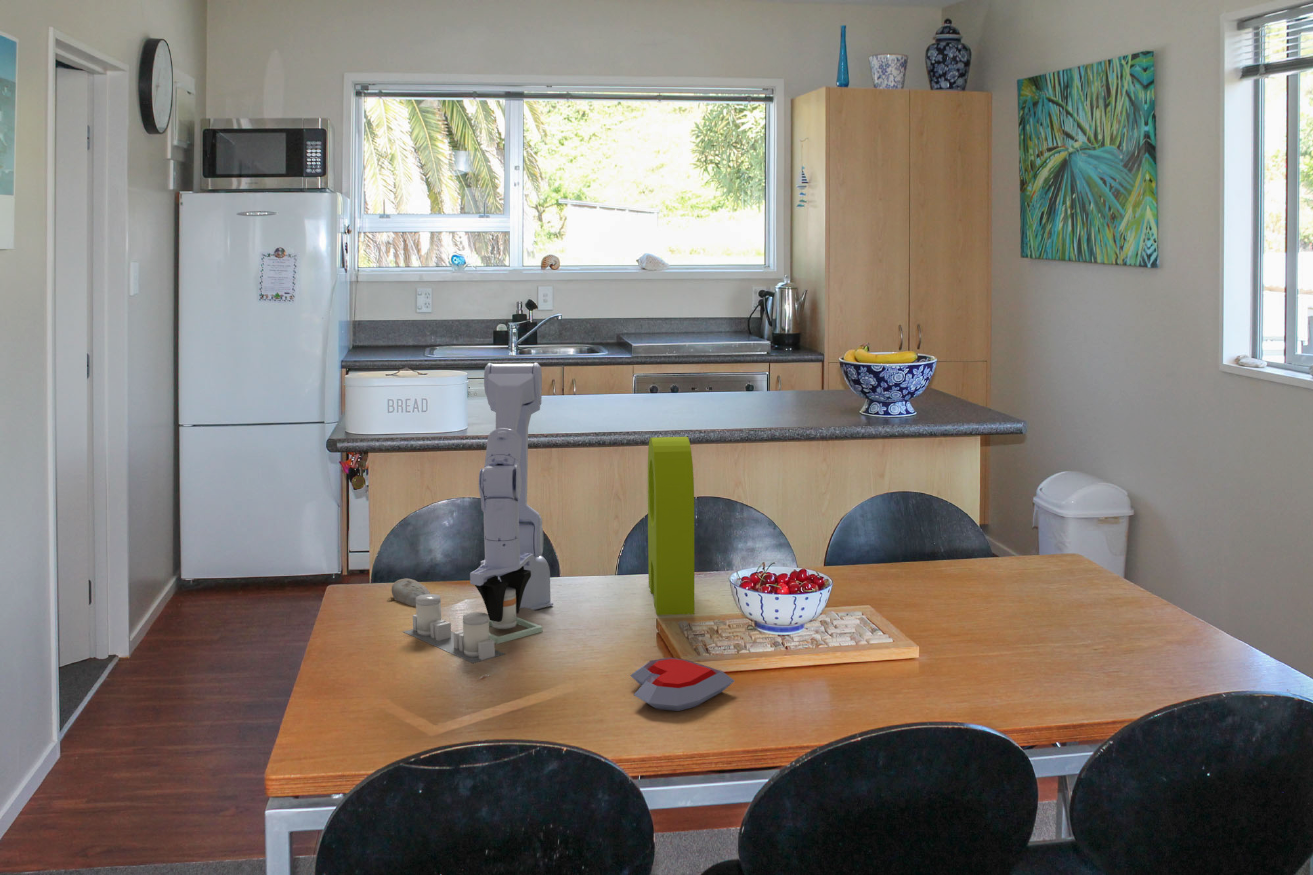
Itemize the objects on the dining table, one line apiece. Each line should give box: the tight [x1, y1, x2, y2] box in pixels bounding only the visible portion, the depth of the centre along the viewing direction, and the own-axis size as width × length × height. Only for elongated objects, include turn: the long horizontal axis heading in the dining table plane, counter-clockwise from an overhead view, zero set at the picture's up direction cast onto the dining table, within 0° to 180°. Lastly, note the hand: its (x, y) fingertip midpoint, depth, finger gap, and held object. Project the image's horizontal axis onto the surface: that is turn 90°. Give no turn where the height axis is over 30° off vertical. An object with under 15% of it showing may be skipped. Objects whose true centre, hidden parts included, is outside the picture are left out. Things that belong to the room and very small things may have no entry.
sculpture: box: [630, 656, 735, 712], centre depth 169 cm, size 17×4×15 cm
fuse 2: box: [462, 612, 490, 657], centre depth 184 cm, size 4×4×6 cm
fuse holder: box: [402, 614, 506, 664], centre depth 189 cm, size 6×21×4 cm, turn 42°
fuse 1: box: [415, 593, 442, 636], centre depth 194 cm, size 4×4×6 cm
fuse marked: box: [491, 587, 518, 630], centre depth 194 cm, size 4×4×6 cm
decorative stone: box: [391, 578, 431, 608], centre depth 215 cm, size 6×16×3 cm, turn 32°
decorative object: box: [647, 436, 696, 616], centre depth 214 cm, size 20×7×30 cm, turn 5°
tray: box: [489, 616, 543, 645], centre depth 195 cm, size 9×9×2 cm
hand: (504, 616), depth 195 cm, fingers closed on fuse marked, 4 cm apart
